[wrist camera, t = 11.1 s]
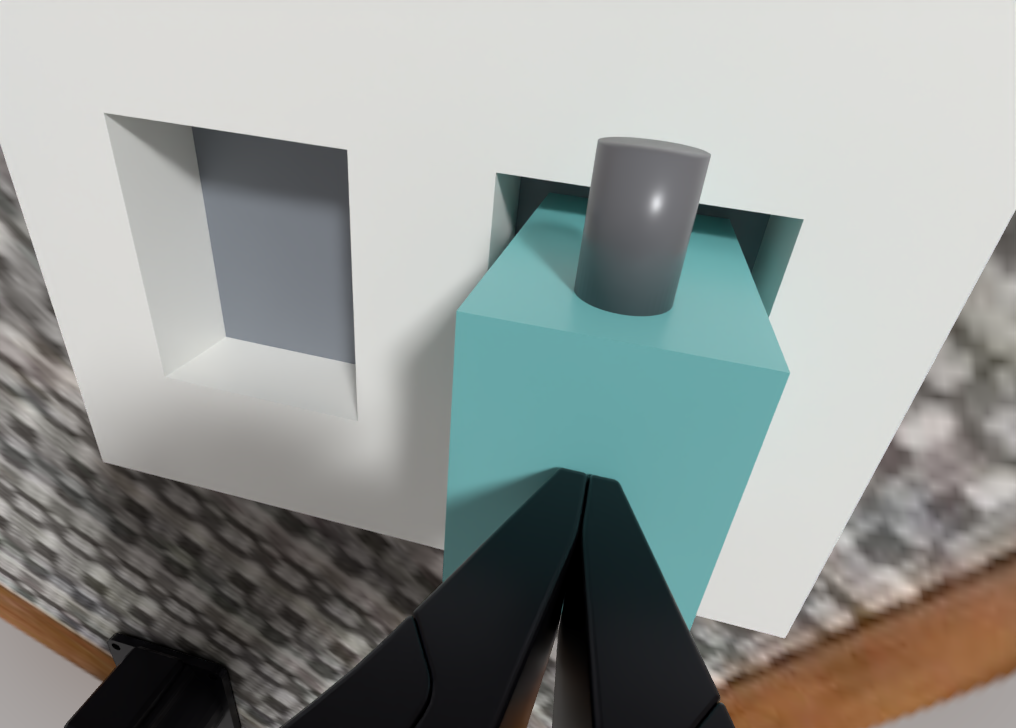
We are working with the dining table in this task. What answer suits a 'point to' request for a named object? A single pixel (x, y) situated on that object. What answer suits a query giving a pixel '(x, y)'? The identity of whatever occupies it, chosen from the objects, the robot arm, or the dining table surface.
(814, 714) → the dining table surface
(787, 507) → the square hole tray
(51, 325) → the dining table surface
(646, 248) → the teal plug
